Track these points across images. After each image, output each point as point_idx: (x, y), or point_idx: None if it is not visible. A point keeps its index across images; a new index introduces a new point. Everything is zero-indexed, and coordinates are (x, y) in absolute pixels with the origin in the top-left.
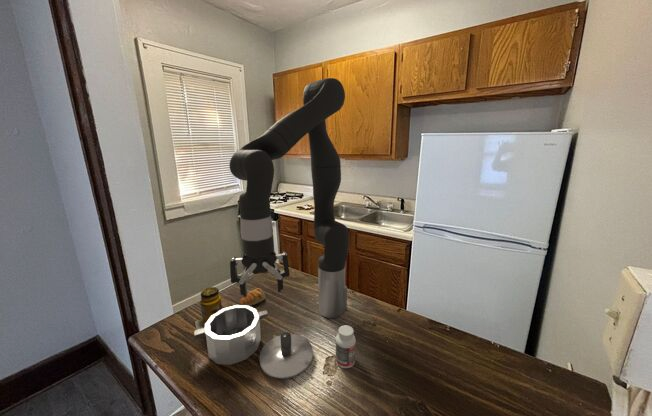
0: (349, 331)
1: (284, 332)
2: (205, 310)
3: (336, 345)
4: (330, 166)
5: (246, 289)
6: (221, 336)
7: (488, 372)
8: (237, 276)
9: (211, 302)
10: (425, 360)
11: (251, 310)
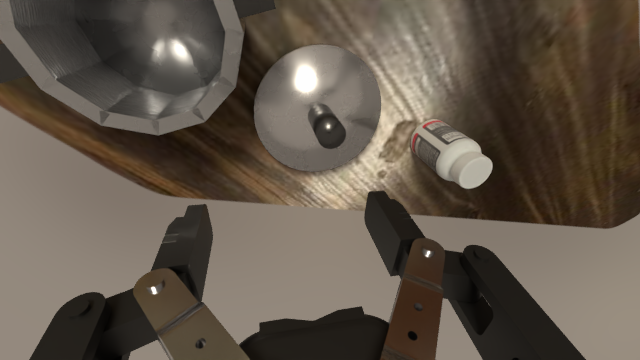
0: (479, 178)
1: (330, 122)
2: None
3: (432, 161)
4: None
5: (204, 237)
6: (124, 118)
7: (584, 184)
8: (119, 336)
9: None
10: (540, 156)
11: None
